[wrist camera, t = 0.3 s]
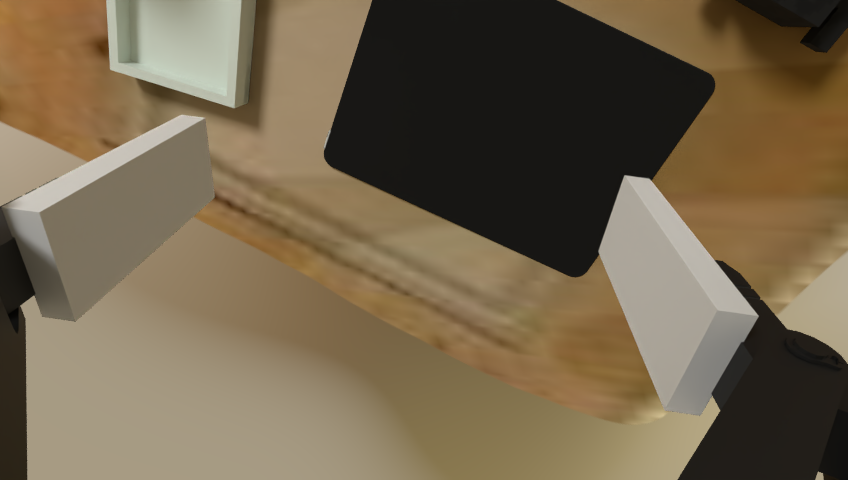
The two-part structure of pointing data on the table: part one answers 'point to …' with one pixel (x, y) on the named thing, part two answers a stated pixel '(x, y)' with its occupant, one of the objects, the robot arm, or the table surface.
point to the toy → (807, 18)
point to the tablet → (510, 118)
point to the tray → (185, 45)
